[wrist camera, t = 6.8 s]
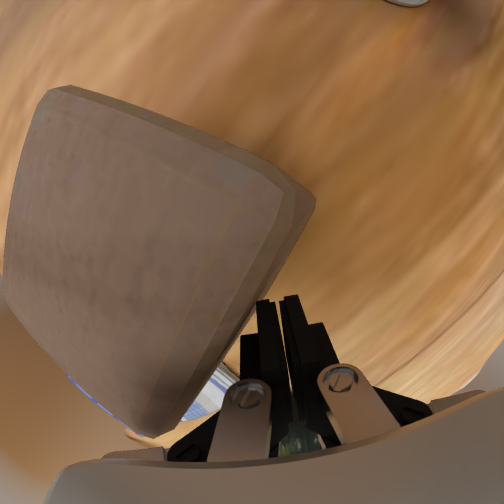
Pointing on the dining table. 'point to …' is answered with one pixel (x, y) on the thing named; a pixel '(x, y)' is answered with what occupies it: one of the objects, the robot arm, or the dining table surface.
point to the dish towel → (205, 401)
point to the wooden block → (141, 249)
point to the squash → (299, 438)
